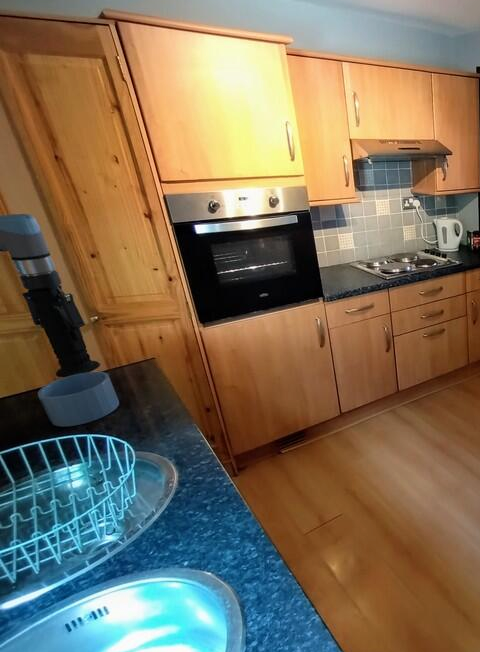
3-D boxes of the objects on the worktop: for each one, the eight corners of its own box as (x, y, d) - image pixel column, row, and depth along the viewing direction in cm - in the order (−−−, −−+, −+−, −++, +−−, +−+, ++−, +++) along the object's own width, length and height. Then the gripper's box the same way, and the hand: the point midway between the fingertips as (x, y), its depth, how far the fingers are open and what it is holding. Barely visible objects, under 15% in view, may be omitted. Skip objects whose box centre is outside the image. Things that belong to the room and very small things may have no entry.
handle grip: (105, 367, 137) (94, 358, 142) (72, 284, 126) (62, 277, 131) (61, 380, 129) (51, 370, 135) (22, 293, 119) (13, 285, 124)
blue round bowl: (36, 423, 123) (22, 395, 119) (90, 396, 136) (79, 369, 132) (82, 429, 120) (68, 400, 117) (132, 400, 134) (121, 373, 130)
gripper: (82, 271, 126) (110, 345, 135) (23, 267, 128) (55, 340, 138) (53, 278, 119) (85, 356, 128) (-8, 274, 122) (27, 350, 131)
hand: (69, 348), depth 133 cm, fingers closed on handle grip, 7 cm apart
